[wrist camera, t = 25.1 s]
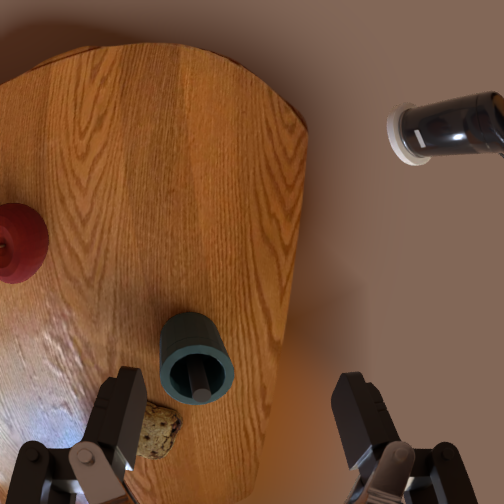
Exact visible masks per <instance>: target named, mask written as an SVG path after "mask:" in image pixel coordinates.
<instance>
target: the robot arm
mask: <svg viewBox="0 0 504 504" xmlns="http://www.w3.org/2000/svg"><path fill="white" fill-rule="evenodd" d="M398 129H399V135H400V138H401V141H402V143H403V145H404V147H405V149H406V150H407V151H408V152H409V153H410V154H411V155H412V156H414V157H416V158H425V157H432V156H447V155H463V154H481V153H482V154H483V153H499V154H500V155H501V156H502V157H503V158H504V154H503V153H504V98H503V97H502V96H501V95H500V94H499V93H497V92H495V91H487V92H482V93H476V94H472V95H467V96H462V97H458V98H453V99H449V100H445V101H440V102H437V103H432V104H428V105H424V106H420V107H416V108H410V109H407V110H404V111H403V112H402V113H401V115H400V118H399V122H398ZM146 405H147V391H146V387H145V383H144V380H143V376H142V372H141V369H140V368H133V367H126V366H121V368H120V370H119V373H118V376H117V378H113V377H109V378H108V379H107V380H106V381H105V382H104V383H103V384H102V385H101V387H100V390H99V392H98V395H97V398H96V401H95V403H94V407H93V409H92V412H91V415H90V418H89V421H88V424H87V427H86V430H85V433H84V436H83V438H82V440H81V441H80V442H79V443H76V444H75V445H74V446H73V447H71V448H65V449H54V448H46V447H45V446H44V445H43V444H42V443H40V442H38V441H28V442H26V443H24V444H23V445H22V446H21V448H20V450H19V454H18V457H17V460H16V463H15V467H14V471H13V474H12V478H11V482H10V486H9V490H8V494H7V499H6V504H75V501H76V495H77V493H84V495H85V497H86V499H87V501H88V503H89V504H140V503H139V502H138V500H137V499H136V497H135V496H134V494H133V493H132V491H131V490H130V488H129V486H128V485H127V483H126V481H125V480H124V473H125V469H127V470H132V471H133V470H134V464H135V459H136V453H137V448H138V443H139V438H140V433H141V428H142V423H143V418H144V414H145V409H146ZM331 407H332V411H333V414H334V417H335V421H336V424H337V428H338V431H339V435H340V438H341V442H342V445H343V449H344V452H345V456H346V459H347V463H348V466H349V470H355V469H359V472H360V475H359V476H358V478H357V480H356V482H355V484H354V486H353V488H352V490H351V491H350V493H349V495H348V497H347V499H346V501H345V503H344V504H403V503H402V502H401V499H402V496H403V494H404V498H405V502H406V504H478V502H477V499H476V496H475V493H474V490H473V488H472V485H471V482H470V479H469V477H468V474H467V472H466V469H465V466H464V464H463V461H462V459H461V456H460V454H459V451H458V449H457V448H456V447H455V446H454V445H453V444H451V443H449V442H441V443H439V444H438V445H436V446H435V447H434V448H433V449H414V448H412V447H411V446H410V445H409V444H407V443H406V442H402V441H401V440H400V438H399V436H398V433H397V431H396V429H395V426H394V424H393V422H392V419H391V417H390V414H389V412H388V411H387V407H386V405H385V403H384V402H383V398H382V396H381V394H380V392H379V390H378V389H377V388H376V387H375V386H374V385H373V384H372V383H371V382H370V383H366V382H365V380H364V378H363V375H362V374H361V373H360V372H350V373H342V374H341V376H340V378H339V380H338V382H337V385H336V387H335V390H334V391H333V394H332V397H331Z"/></svg>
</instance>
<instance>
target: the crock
mask: <svg viewBox="0 0 504 504" xmlns="http://www.w3.org/2000/svg"><path fill="white" fill-rule="evenodd" d="M196 353H201V354H207V355H201V358H202V362H203V365H204V369H205V373H206V377H207V380H208V384H209V387H210V391H211V398H210V399H209V400H208V401H207V402H203V403H200V402H197V401H195V400H194V399H193V396H192V391H191V385H190V380H189V374H188V368H187V362H186V357H184V356H186V355H189V354H196ZM160 379H161V384H162V386H163V388H164V389H165V391H166V393H167V394H169V395H170V396H171V397H172V398H173V399H175V400H177V401H179V402H182V403H185V404H191V405H202V404H207V403H210V402H213V401H216V400H217V399H219V398H220V397H222V396H223V395H224V394H226V392H227V391H228V390H229V389H230V387H231V385H232V382H233V379H234V367H233V365H232V363H231V360H230V358H229V356H228V353H227V351H226V349H225V346H224V344H223V342H222V339H221V337H220V335H219V332H218V330H217V328H216V326H215V324H214V323H213V322H212V321H211V320H210V319H209V318H207V317H206V316H204V315H202V314H199V313H194V312H185V313H180V314H178V315H175V316H174V317H172V318H171V319H169V320H168V321H167V322H166V323H165V325H164V326H163V328H162V331H161V334H160Z"/></svg>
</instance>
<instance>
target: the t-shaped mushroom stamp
mask: <svg viewBox="0 0 504 504" xmlns="http://www.w3.org/2000/svg"><path fill="white" fill-rule="evenodd" d="M201 355H207V354H201V353H196V354H189V355H186V356H184V357H186V362H187V368H188V374H189V380H190V385H191V391H192V396H193V399H194V400H195V401H197V402H200V403H203V402H207V401H208V400H209V399H210V398H211V391H210V387H209V384H208V380H207V377H206V373H205V369H204V365H203V362H202V358H201Z"/></svg>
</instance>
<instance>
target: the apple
mask: <svg viewBox="0 0 504 504" xmlns="http://www.w3.org/2000/svg"><path fill="white" fill-rule="evenodd" d="M48 245H49V235H48V229H47V226H46V224H45V222H44V220H43V218H42V217H41V216H40V214H39V213H37V212H36V211H35V210H34V209H32V208H30V207H29V206H27V205H23V204H19V203H7V204H4V205H1V206H0V280H1V281H3V282H5V283H10V284H15V283H21V282H23V281H26V280H27V279H29V278H30V277H31V276H33V275H34V274H35V273H36V272H37V270H38V269H39V268H40V266H41V265H42V263H43V261H44V259H45V257H46V254H47V250H48Z"/></svg>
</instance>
